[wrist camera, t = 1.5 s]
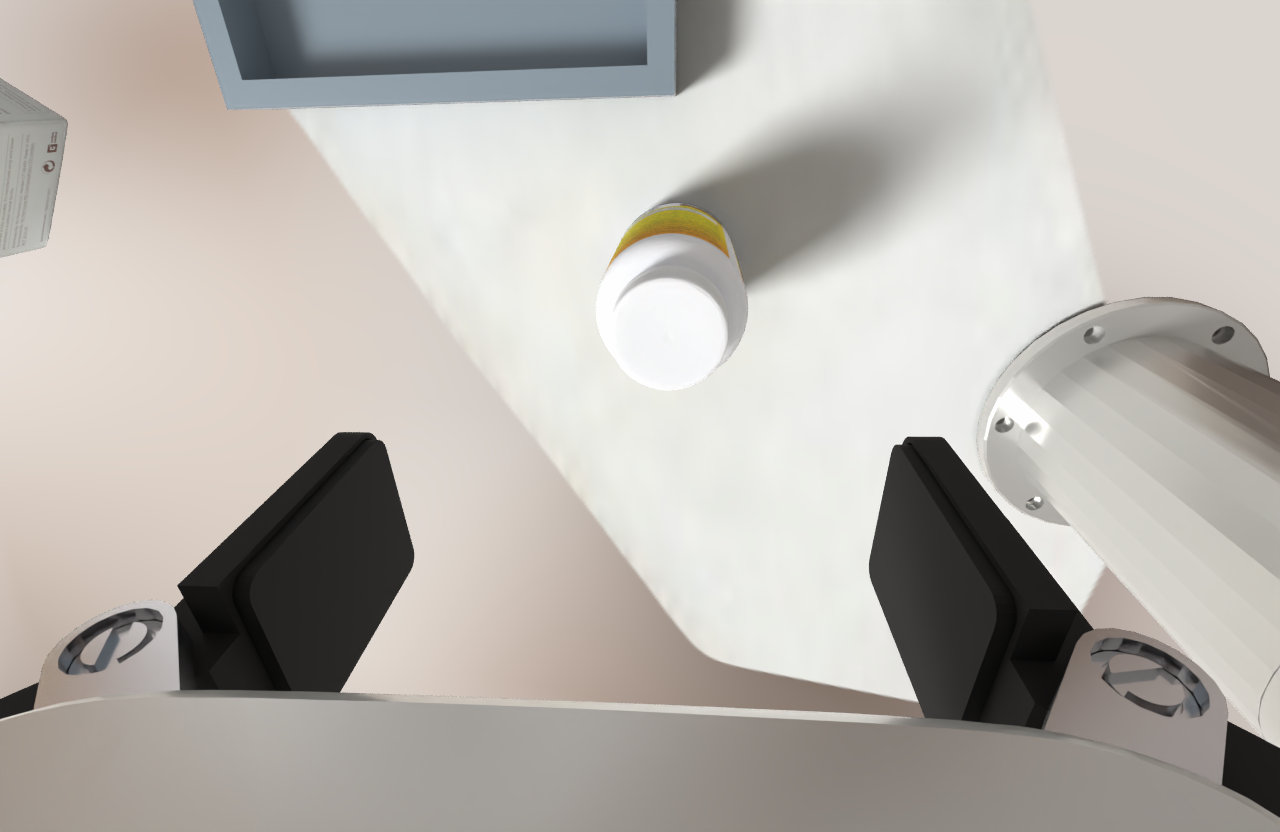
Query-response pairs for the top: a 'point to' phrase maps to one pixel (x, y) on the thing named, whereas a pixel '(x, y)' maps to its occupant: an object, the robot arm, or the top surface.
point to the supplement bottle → (672, 298)
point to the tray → (437, 51)
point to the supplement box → (27, 169)
